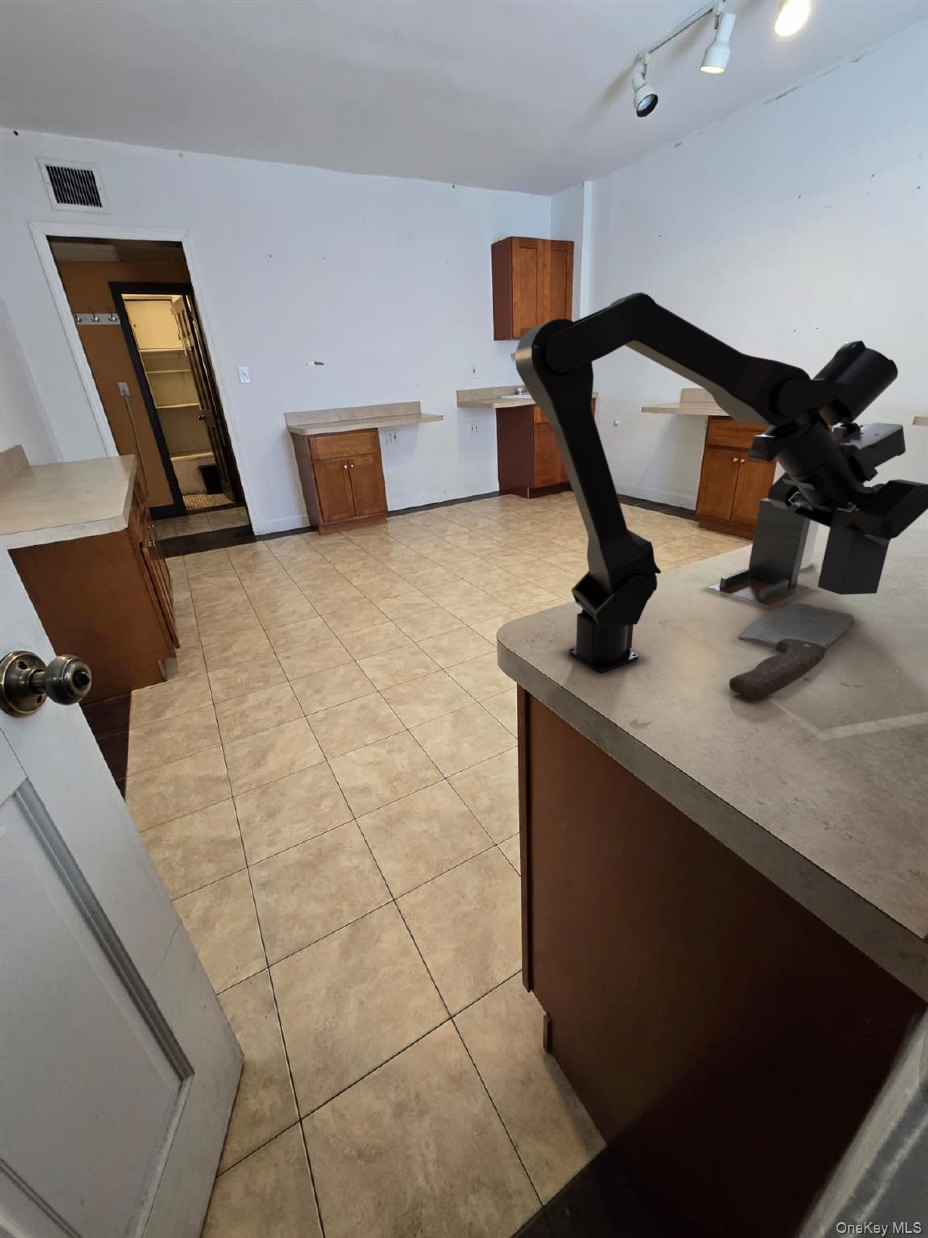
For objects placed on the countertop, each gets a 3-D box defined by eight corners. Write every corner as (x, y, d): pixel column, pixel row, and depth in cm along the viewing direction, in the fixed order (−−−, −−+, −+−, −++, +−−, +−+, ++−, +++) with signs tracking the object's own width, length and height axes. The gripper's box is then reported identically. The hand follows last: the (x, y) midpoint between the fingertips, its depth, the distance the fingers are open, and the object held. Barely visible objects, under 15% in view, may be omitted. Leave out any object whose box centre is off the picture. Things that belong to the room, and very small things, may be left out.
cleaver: (778, 712, 53) (783, 695, 52) (687, 679, 60) (689, 664, 59) (856, 621, 71) (860, 607, 70) (779, 603, 77) (781, 590, 76)
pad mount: (768, 609, 75) (786, 518, 70) (707, 590, 83) (719, 507, 78) (809, 590, 80) (828, 504, 75) (748, 574, 88) (761, 495, 83)
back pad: (840, 595, 65) (863, 490, 61) (817, 587, 69) (838, 487, 65) (876, 593, 66) (903, 489, 61) (852, 585, 69) (875, 487, 65)
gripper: (951, 401, 49) (1007, 504, 55) (805, 398, 66) (860, 477, 72) (857, 491, 52) (920, 581, 58) (739, 466, 69) (797, 537, 74)
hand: (870, 538), depth 65 cm, fingers closed on back pad, 4 cm apart
